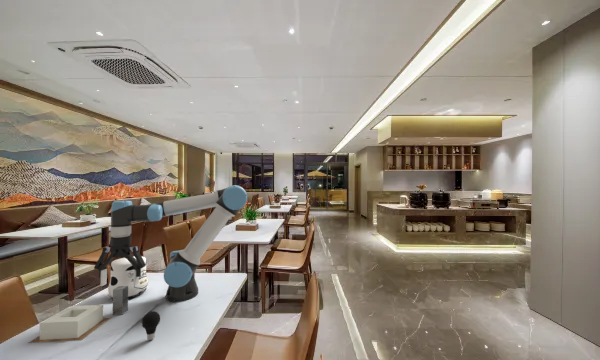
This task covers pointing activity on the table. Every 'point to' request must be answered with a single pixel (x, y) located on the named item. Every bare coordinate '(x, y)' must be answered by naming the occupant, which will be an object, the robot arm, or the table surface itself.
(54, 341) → the board
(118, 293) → the brushed grey pillar
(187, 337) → the table surface
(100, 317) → the well
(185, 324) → the table surface
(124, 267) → the milk container
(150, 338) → the light bulb
